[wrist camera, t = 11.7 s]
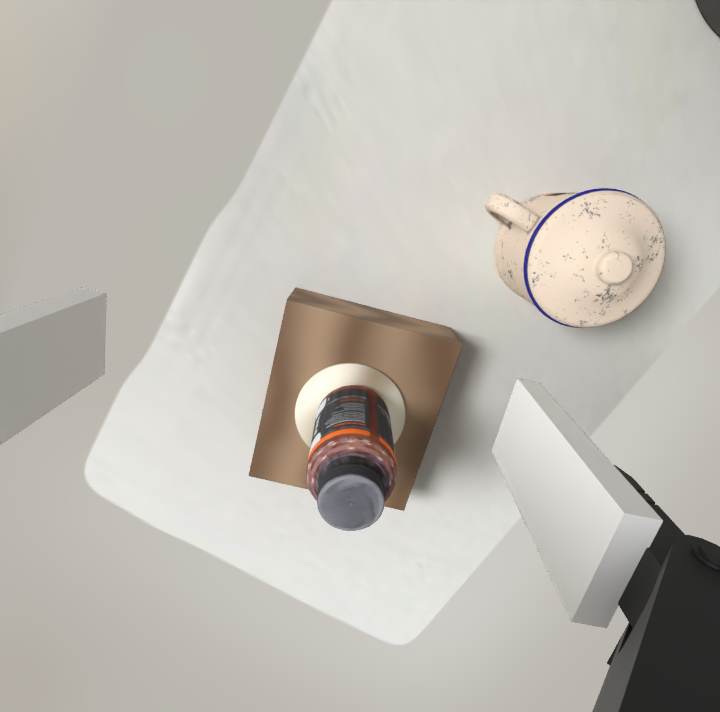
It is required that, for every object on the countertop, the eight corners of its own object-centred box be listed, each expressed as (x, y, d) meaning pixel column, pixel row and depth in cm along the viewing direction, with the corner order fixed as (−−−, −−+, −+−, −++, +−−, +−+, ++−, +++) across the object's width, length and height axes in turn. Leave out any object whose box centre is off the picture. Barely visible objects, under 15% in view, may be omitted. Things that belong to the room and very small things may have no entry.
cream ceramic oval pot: (623, 229, 38) (730, 242, 27) (552, 320, 41) (624, 367, 30) (506, 145, 36) (571, 124, 25) (440, 247, 39) (472, 268, 28)
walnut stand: (450, 327, 41) (463, 346, 36) (399, 478, 46) (404, 513, 41) (295, 287, 40) (286, 301, 35) (260, 446, 45) (247, 478, 40)
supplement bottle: (302, 407, 37) (278, 491, 27) (363, 368, 36) (364, 440, 26) (344, 460, 39) (337, 560, 28) (403, 424, 38) (420, 515, 27)
